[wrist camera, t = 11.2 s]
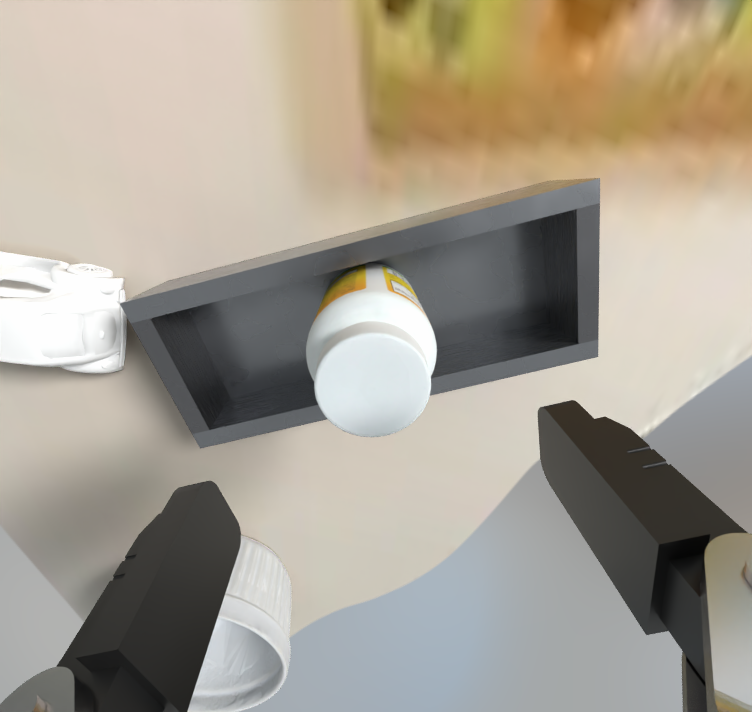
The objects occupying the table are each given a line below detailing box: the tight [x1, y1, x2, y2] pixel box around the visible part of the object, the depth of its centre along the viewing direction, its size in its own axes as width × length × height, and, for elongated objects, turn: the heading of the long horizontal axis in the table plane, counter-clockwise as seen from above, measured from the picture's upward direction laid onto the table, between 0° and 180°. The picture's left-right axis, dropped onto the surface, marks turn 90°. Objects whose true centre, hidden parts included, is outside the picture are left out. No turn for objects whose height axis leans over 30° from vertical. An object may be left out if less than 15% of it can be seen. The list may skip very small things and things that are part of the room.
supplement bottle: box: [306, 263, 437, 437], centre depth 17 cm, size 5×5×10 cm
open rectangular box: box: [120, 178, 600, 448], centre depth 20 cm, size 9×22×4 cm, turn 104°
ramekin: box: [187, 535, 291, 712], centre depth 28 cm, size 13×13×7 cm
